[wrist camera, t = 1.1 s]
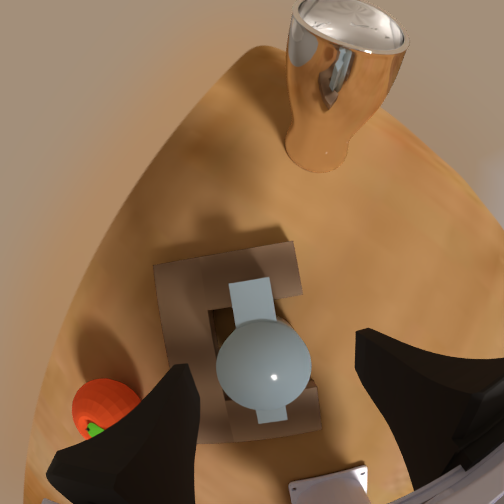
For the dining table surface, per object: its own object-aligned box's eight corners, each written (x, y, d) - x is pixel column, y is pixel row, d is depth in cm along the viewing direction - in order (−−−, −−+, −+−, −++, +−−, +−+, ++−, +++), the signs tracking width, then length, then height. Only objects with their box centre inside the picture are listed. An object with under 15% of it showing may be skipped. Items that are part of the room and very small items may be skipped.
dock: (318, 420, 21) (321, 429, 19) (194, 435, 21) (189, 443, 19) (291, 244, 23) (293, 240, 21) (160, 267, 23) (153, 265, 22)
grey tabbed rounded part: (304, 381, 21) (317, 413, 14) (239, 391, 22) (228, 426, 15) (287, 278, 23) (296, 271, 16) (220, 289, 23) (201, 287, 16)
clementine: (171, 386, 22) (139, 416, 15) (166, 445, 21) (138, 483, 14) (98, 361, 22) (53, 376, 15) (97, 418, 22) (59, 443, 14)
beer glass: (264, 145, 25) (260, 11, 10) (310, 105, 25) (332, -16, 10) (322, 192, 24) (381, 75, 9) (364, 146, 24) (428, 36, 9)
